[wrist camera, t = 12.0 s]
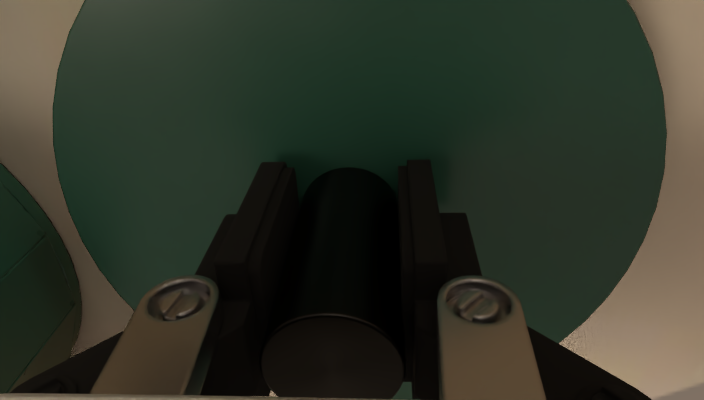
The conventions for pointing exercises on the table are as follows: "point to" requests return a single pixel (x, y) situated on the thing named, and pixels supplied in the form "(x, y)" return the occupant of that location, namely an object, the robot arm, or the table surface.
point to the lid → (363, 154)
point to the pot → (33, 289)
